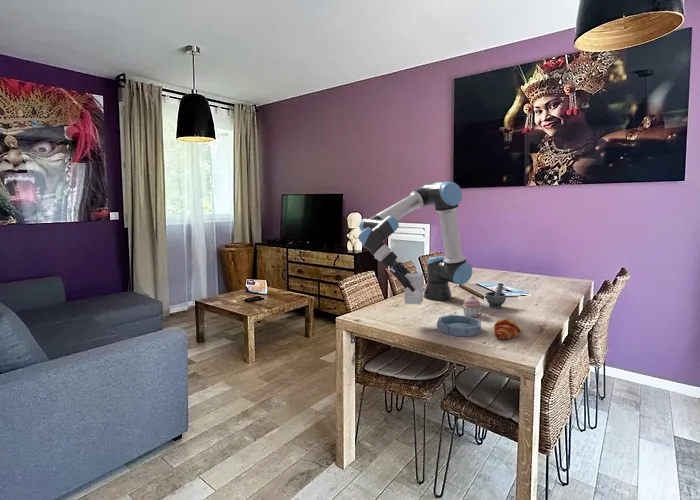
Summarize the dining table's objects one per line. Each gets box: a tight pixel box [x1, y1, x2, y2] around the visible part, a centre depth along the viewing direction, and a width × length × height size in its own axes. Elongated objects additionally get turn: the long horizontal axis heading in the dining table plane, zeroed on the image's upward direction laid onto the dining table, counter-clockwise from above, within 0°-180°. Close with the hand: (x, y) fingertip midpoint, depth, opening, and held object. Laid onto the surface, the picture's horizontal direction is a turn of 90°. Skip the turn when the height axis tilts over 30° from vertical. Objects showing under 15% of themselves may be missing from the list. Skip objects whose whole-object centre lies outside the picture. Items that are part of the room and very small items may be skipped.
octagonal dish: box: [436, 314, 482, 338], centre depth 170 cm, size 18×18×4 cm
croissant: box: [493, 318, 521, 340], centre depth 164 cm, size 21×10×8 cm, turn 143°
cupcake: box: [461, 295, 483, 318], centre depth 189 cm, size 9×9×10 cm
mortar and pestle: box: [485, 282, 507, 310], centre depth 203 cm, size 11×9×12 cm
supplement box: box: [403, 272, 424, 306], centre depth 177 cm, size 7×7×13 cm
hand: (421, 293), depth 176 cm, fingers closed on supplement box, 7 cm apart
